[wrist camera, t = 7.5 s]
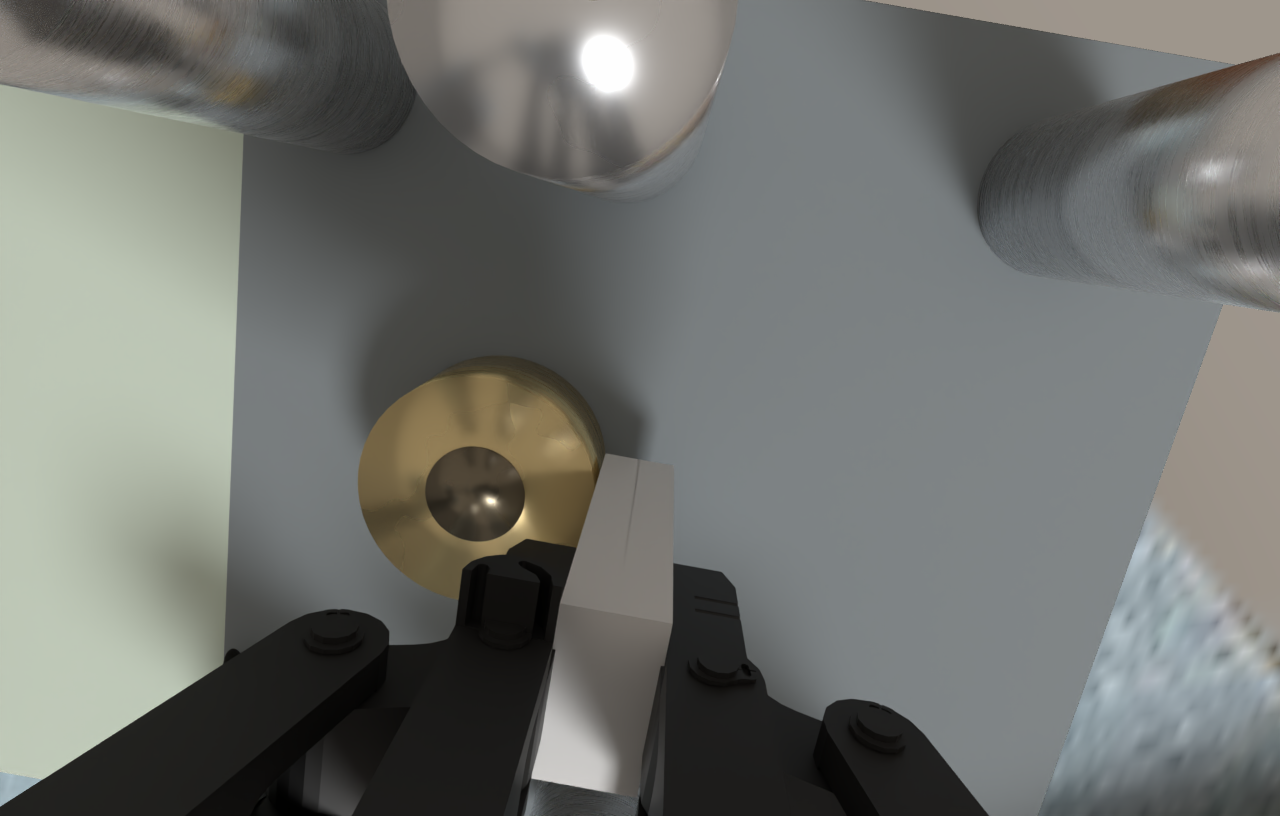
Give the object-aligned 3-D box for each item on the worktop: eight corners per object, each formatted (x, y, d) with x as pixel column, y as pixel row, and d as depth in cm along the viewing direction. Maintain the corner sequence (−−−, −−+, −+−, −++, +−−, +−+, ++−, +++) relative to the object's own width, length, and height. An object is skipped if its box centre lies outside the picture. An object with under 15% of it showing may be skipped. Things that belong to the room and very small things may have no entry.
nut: (391, 534, 18) (347, 581, 16) (410, 337, 17) (365, 356, 14) (588, 569, 18) (574, 622, 16) (621, 375, 17) (612, 401, 14)
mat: (-21, 752, 21) (-37, 765, 20) (-71, -155, 15) (-95, -167, 15) (981, 934, 21) (988, 951, 20) (1285, 81, 15) (1304, 77, 15)
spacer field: (234, 770, 20) (-114, 1200, 11) (268, -26, 15) (-287, -363, 6) (913, 893, 20) (1101, 1426, 11) (1159, 130, 15) (1825, 2, 6)
